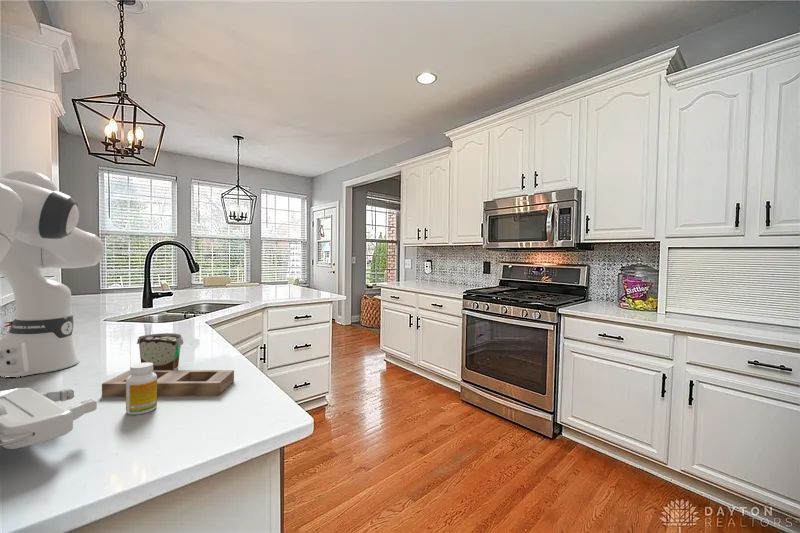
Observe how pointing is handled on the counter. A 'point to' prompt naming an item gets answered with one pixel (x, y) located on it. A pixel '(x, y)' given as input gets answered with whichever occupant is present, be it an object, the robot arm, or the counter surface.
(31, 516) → the counter surface
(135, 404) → the supplement bottle
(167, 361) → the food container
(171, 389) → the socket rail
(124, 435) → the counter surface
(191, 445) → the counter surface
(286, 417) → the counter surface
